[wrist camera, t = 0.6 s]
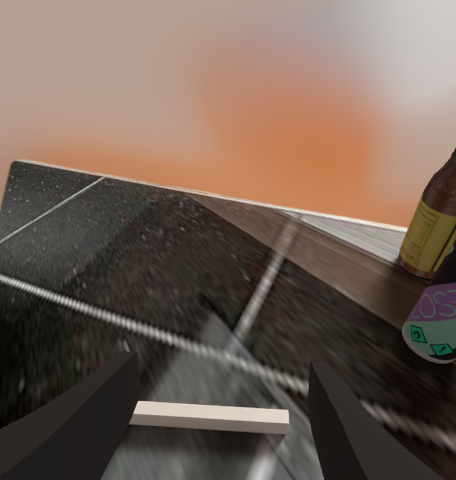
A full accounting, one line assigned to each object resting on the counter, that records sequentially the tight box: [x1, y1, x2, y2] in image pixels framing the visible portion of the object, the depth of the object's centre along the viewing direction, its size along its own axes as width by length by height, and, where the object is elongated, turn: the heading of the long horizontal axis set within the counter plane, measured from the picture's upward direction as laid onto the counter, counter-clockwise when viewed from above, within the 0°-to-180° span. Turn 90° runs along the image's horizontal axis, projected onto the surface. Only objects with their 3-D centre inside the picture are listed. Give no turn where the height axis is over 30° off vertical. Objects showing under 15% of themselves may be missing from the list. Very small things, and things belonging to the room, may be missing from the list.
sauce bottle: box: [398, 148, 456, 279], centre depth 35 cm, size 7×6×20 cm
